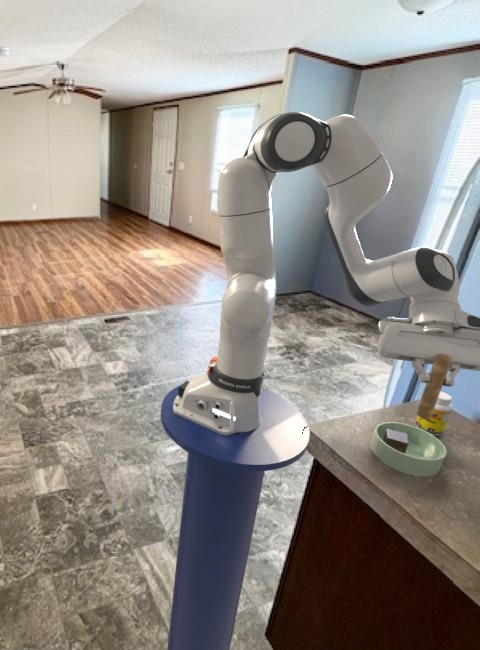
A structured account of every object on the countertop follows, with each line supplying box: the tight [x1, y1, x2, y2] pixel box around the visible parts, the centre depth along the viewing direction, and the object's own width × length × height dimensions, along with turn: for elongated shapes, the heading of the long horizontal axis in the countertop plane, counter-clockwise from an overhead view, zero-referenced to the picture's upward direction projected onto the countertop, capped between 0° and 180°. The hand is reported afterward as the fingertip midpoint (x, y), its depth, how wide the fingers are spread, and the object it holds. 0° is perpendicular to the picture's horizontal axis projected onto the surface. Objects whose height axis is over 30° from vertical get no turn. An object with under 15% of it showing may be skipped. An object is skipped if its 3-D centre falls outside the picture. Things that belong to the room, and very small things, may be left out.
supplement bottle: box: [414, 391, 454, 436], centre depth 104 cm, size 6×6×10 cm
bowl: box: [370, 421, 448, 478], centre depth 96 cm, size 13×13×4 cm
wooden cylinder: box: [415, 354, 452, 419], centre depth 87 cm, size 3×3×14 cm
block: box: [383, 429, 408, 454], centre depth 97 cm, size 4×4×4 cm
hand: (436, 383), depth 86 cm, fingers closed on wooden cylinder, 2 cm apart
